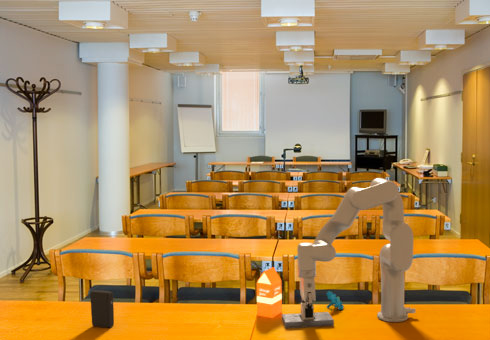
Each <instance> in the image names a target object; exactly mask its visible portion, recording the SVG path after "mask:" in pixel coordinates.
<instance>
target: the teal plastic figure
mask: <svg viewBox="0 0 490 340" xmlns="http://www.w3.org/2000/svg"><path fill="white" fill-rule="evenodd" d="M325 296H327V299H328V301H330V303H329V304H327V306H326V308H327V309H329V308H330V307H332V306H333V307H335V308H337V309H338V310H342V311H343V309H344V307H345V306H344V305H343V302H342V301H341V300H340V296H337V294H336V293H333V292H332V291H327V292H326V294H325Z"/></svg>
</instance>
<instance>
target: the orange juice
mask: <svg viewBox="0 0 490 340" xmlns="http://www.w3.org/2000/svg"><path fill="white" fill-rule="evenodd" d="M282 290H283V289H282V279H281V277H280V275H279V273H278V272H277V271H276V268H275V267H274V266H272V267H270V268H268V269H266V270H264V271H263V272H262V274H261V275H260V277H259V278H258V279H257V282H256V315H257V316H259V315H260V317H265V318H270V319H272V318H275V317H276V316H278V315H279V314H281V313H283V304H282V303H283V301H282V299H283V293H282V292H283V291H282Z"/></svg>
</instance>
